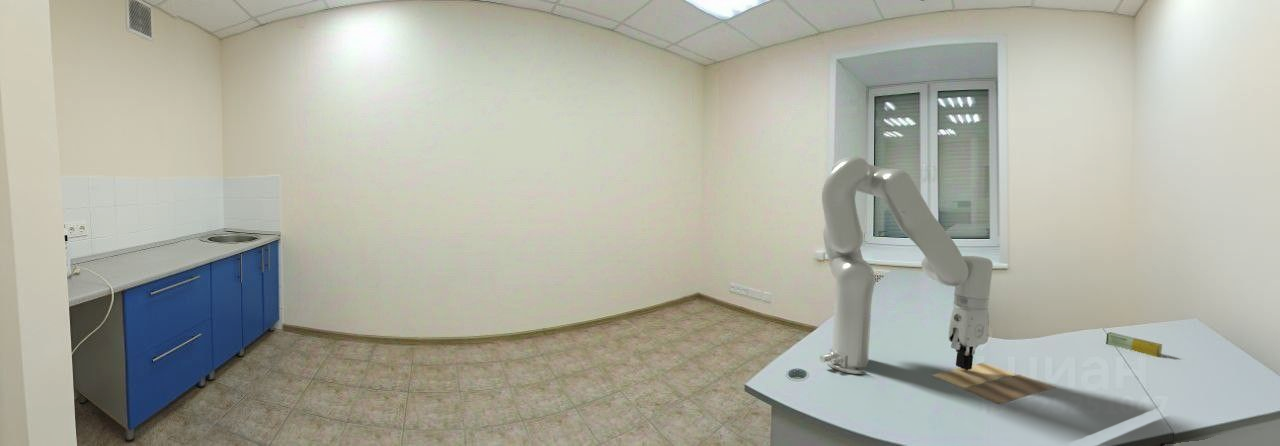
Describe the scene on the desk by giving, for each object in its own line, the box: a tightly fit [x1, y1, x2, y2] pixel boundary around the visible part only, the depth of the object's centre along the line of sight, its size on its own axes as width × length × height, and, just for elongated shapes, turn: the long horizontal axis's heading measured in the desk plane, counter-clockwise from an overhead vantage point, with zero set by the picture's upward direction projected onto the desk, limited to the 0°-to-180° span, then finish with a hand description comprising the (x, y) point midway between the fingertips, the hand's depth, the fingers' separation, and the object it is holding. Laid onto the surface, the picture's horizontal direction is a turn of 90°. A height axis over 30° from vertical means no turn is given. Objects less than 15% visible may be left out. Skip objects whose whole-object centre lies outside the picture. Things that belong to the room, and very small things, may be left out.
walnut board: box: [963, 373, 1055, 405], centre depth 113 cm, size 23×8×2 cm, turn 113°
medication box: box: [1105, 331, 1163, 358], centre depth 143 cm, size 12×3×4 cm, turn 24°
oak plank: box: [931, 362, 1016, 389], centre depth 120 cm, size 22×8×1 cm, turn 113°
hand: (963, 367), depth 122 cm, fingers closed
